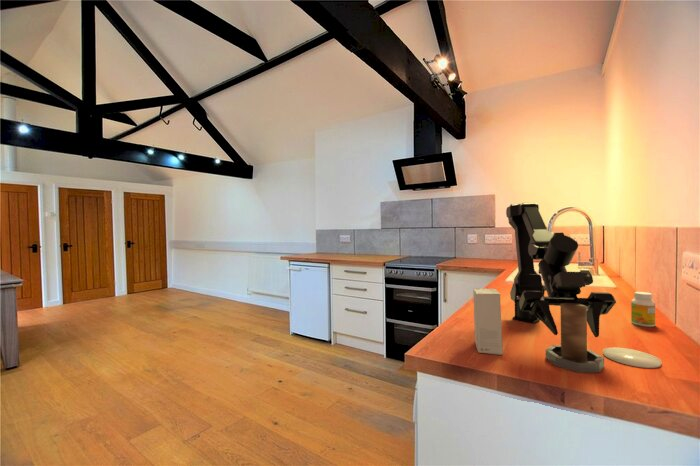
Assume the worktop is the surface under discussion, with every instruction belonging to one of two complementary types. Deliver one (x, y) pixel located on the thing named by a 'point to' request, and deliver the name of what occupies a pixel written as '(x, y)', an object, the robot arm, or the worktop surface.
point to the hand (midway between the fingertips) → (576, 335)
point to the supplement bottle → (643, 309)
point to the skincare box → (487, 321)
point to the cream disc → (632, 357)
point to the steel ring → (589, 366)
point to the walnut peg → (574, 331)
